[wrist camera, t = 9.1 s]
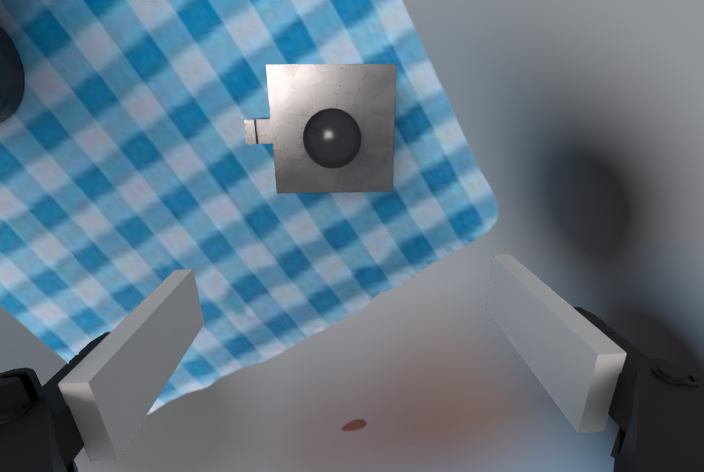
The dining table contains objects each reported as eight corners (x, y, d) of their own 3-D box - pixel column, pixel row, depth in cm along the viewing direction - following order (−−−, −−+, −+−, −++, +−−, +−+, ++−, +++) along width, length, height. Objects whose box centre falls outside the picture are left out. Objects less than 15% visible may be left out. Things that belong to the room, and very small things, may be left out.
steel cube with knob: (379, 76, 45) (396, 63, 32) (377, 169, 49) (392, 191, 36) (263, 77, 44) (232, 64, 31) (271, 171, 49) (247, 193, 36)
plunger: (368, 90, 43) (390, 76, 25) (367, 160, 46) (387, 194, 28) (298, 90, 43) (269, 77, 24) (302, 161, 46) (279, 195, 27)
